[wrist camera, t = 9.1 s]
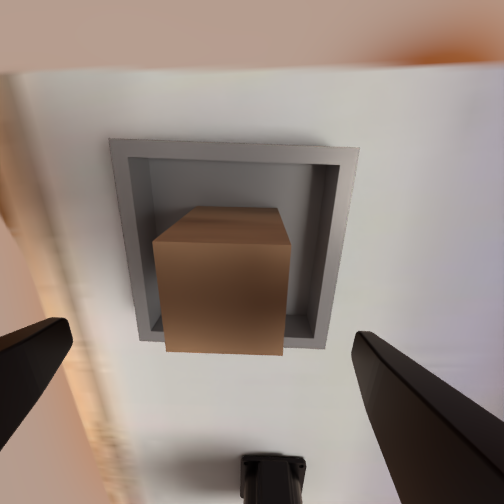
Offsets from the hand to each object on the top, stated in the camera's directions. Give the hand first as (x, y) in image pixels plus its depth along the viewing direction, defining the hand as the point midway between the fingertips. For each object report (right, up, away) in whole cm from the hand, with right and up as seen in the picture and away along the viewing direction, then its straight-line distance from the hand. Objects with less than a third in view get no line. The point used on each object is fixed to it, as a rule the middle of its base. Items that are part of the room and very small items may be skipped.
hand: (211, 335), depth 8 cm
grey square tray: (0, +3, +10) cm, 10 cm away
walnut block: (0, +3, +9) cm, 9 cm away
